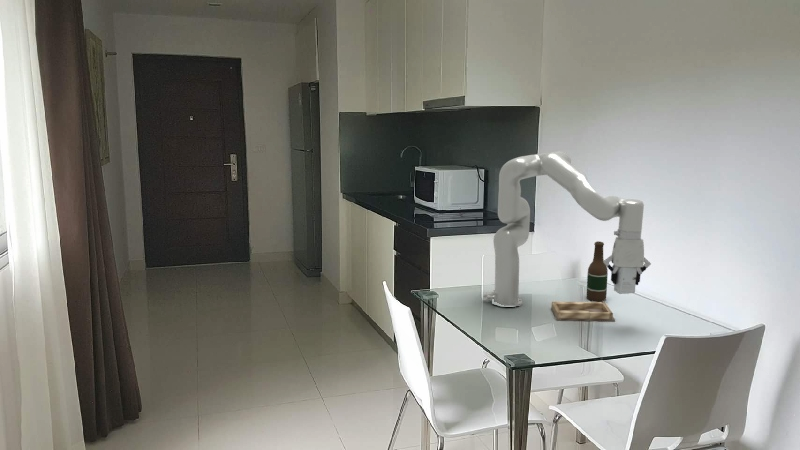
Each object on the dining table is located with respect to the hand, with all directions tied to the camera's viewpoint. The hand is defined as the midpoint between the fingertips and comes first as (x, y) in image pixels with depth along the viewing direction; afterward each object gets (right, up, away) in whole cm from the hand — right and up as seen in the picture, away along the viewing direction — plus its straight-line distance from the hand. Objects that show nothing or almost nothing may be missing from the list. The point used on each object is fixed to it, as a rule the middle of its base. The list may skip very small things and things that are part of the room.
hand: (625, 283), depth 210 cm
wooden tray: (-11, -13, +15) cm, 23 cm away
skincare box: (0, -3, +1) cm, 3 cm away
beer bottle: (+1, -10, +33) cm, 34 cm away
